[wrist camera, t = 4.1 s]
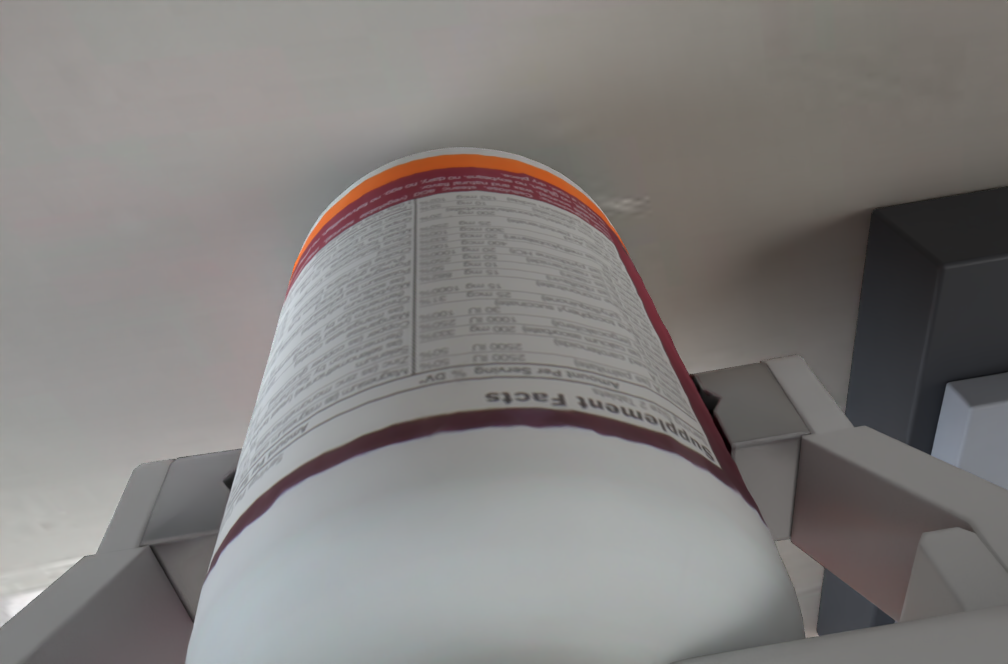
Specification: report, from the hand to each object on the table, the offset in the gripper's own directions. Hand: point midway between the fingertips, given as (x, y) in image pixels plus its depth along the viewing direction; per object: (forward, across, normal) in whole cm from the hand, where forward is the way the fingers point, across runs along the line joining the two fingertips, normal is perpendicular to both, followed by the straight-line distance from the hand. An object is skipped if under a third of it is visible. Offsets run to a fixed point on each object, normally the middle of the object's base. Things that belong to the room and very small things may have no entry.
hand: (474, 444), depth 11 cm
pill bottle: (+4, 0, 0) cm, 4 cm away
